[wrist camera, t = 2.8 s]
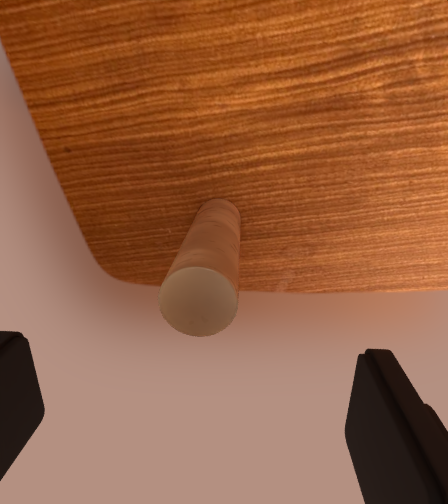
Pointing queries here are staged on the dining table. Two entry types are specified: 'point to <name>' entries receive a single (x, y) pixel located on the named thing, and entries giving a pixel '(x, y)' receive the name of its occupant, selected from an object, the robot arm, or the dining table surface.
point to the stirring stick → (205, 273)
